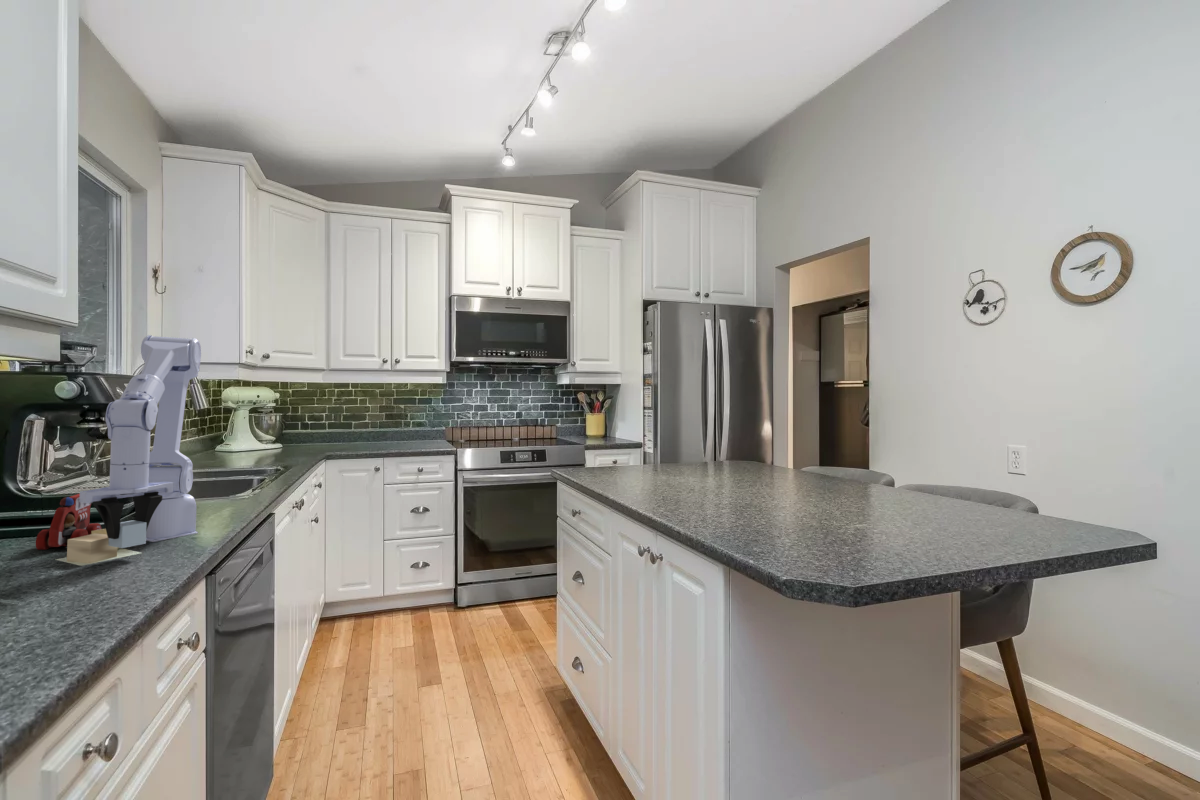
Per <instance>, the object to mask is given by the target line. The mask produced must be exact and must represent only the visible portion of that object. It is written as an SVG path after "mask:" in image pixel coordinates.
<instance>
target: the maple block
mask: <svg viewBox="0 0 1200 800" xmlns="http://www.w3.org/2000/svg"><path fill="white" fill-rule="evenodd" d="M66 550H67V551H66V557H67V561H68V562H79V563H89V564H88V565H92V564H91V563H93V564H95V563H94V562H98V561H102V560H105V559H109V558H113V557H117V547H113V546H109V538H108V536H107V534H96V533H95V534H91V535H86V536H81V537H77V538H72V539H68V543H67V546H66ZM102 562H103V561H102ZM98 563H99V562H98Z"/></svg>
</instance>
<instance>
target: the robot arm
mask: <svg viewBox="0 0 1200 800" xmlns="http://www.w3.org/2000/svg"><path fill="white" fill-rule="evenodd" d="M201 347H202V346H201V342H200V341H199V340H198V338H196V337H191V338H190V337H189V338H188V337H187V338H185V337H173V336H160V335H159V336H157V335H155V336H154V335H151V334H148V335H146V336H144V338H143V339H142V341H141V345H140V354H141V358H142V360H143V362H144V364H143V367H142V370H141V373H140V374H139V373H138V374H136V375H134V376H132V378H130V380H129V382H128V384H127V385H126V387H125V388H124V390H123V392H122V394H121V396H120V397H119V399H114V401H111V402H109V403H108V405H107V407H106V411H105V425H106V426H107V437H108V439H109V440H110V460H109V461H110V462H109V484H108V485H109V486H106V487H101V488H94V489H89V490H81V491H79V493H80V498H79V502H82V503H91V504H92V505H93V507H94V508H95V509H96V511H97V512H98V514H99V516H100V518H101V519H102V522H103V524H104V529H106V532H107V536H108V538H111V539H118V538H119V534H120V522H121V518H122V512H123V511H124V510H123V509H124V507H125V503H124V502H121V501H120V500H119V499H123V498H131V497H132V500H133V506H134V511H135V513H134V514H135V517H134V518H135V519H134V520H135V521H141V522H147V524H146V542H153V543H154V542H159V541H164V540H170V539H175V538H180V537H185V536H191V535H196V534H198V531H196V530H197V529H196V528H197V527H196V526H197V503H196V499H195V497H194V496H193V495H191V494H189V492H190V491H191V490H192V486H193V482H194V472H193V468H194V466H193V465H194V464H193V462H192V460H191V458H190V457H188V456H187V455H185V454H183V453H182V452H180V447H181V439H182V433H183V432H182V431H183V424H184V423H183V422H184V415H185V409H186V399H187V391H188V387H189V384H190V380H193V379H195V378H197V377H198V376H199V372H200V366H201V360H202V348H201ZM154 428H155V430H154V437H153V438H154V439H153V445H152V450H151V430H153V429H154ZM150 450H151V451H150Z"/></svg>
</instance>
